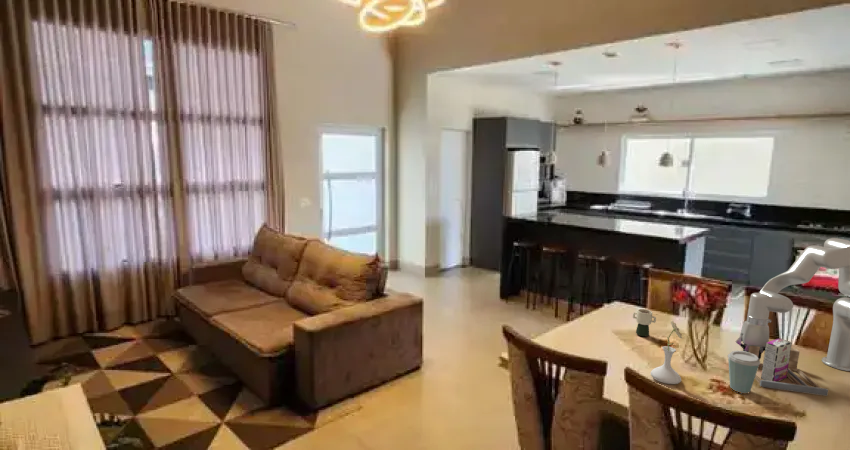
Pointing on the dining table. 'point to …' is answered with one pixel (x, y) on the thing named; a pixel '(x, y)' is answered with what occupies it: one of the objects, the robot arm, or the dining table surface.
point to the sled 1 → (755, 351)
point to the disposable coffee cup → (742, 370)
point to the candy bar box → (776, 360)
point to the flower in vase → (667, 363)
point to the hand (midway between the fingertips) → (751, 358)
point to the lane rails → (794, 386)
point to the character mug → (643, 321)
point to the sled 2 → (793, 366)
